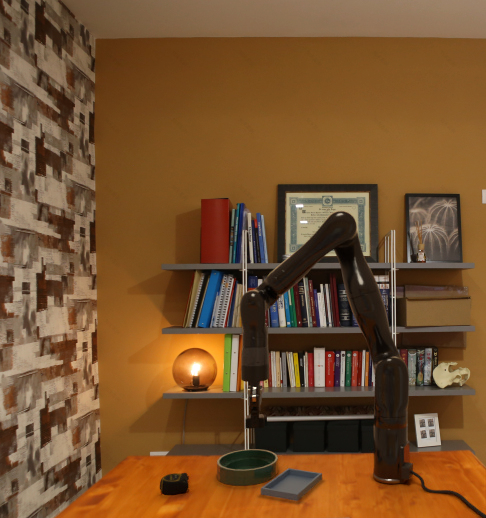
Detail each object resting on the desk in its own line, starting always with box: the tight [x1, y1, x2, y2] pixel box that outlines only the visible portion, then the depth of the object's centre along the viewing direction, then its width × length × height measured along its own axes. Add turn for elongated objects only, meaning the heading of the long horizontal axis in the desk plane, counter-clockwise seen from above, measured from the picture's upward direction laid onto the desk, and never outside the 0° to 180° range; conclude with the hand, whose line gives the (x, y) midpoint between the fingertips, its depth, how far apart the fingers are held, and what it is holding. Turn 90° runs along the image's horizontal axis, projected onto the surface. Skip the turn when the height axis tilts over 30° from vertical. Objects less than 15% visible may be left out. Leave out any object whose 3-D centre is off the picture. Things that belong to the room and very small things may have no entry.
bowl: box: [216, 448, 279, 487], centre depth 135 cm, size 16×16×4 cm
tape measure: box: [159, 472, 190, 496], centre depth 124 cm, size 7×7×4 cm
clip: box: [244, 413, 265, 430], centre depth 135 cm, size 5×2×3 cm, turn 100°
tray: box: [260, 467, 323, 502], centre depth 127 cm, size 10×14×2 cm
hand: (255, 425), depth 135 cm, fingers closed on clip, 2 cm apart
